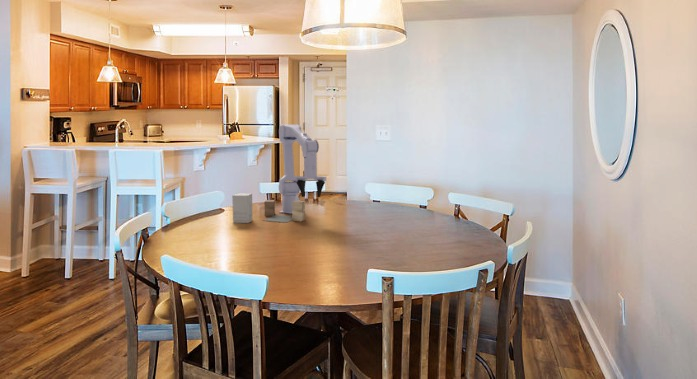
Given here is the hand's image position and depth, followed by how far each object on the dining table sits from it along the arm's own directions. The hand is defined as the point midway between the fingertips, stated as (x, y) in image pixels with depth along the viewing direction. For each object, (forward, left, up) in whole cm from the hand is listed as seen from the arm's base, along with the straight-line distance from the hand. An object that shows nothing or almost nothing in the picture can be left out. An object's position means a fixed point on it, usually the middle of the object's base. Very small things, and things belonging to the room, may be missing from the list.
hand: (311, 196), depth 226 cm
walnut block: (-9, -25, -12) cm, 29 cm away
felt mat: (-2, -16, -12) cm, 20 cm away
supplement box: (+10, -29, -12) cm, 33 cm away
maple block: (-2, -7, -12) cm, 14 cm away
